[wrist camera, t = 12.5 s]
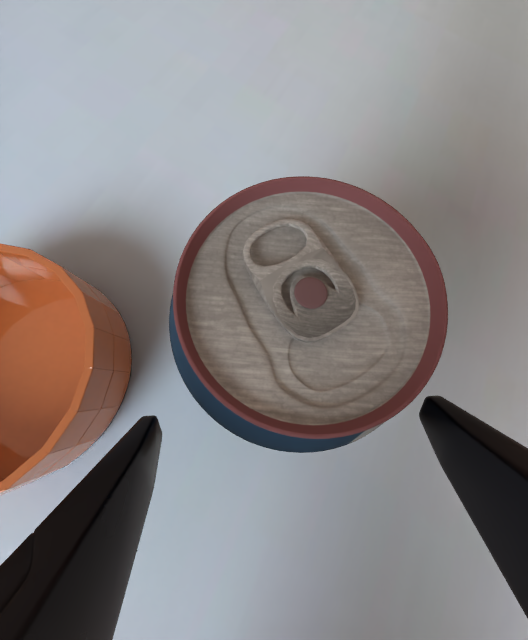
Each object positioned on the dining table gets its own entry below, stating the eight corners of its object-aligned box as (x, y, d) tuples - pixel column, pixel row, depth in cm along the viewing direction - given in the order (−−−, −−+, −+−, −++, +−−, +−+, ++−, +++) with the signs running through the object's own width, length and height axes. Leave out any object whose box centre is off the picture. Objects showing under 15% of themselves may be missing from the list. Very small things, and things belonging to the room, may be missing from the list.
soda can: (346, 376, 17) (550, 349, 5) (252, 436, 16) (250, 569, 4) (289, 288, 18) (351, 113, 7) (199, 337, 17) (86, 232, 6)
